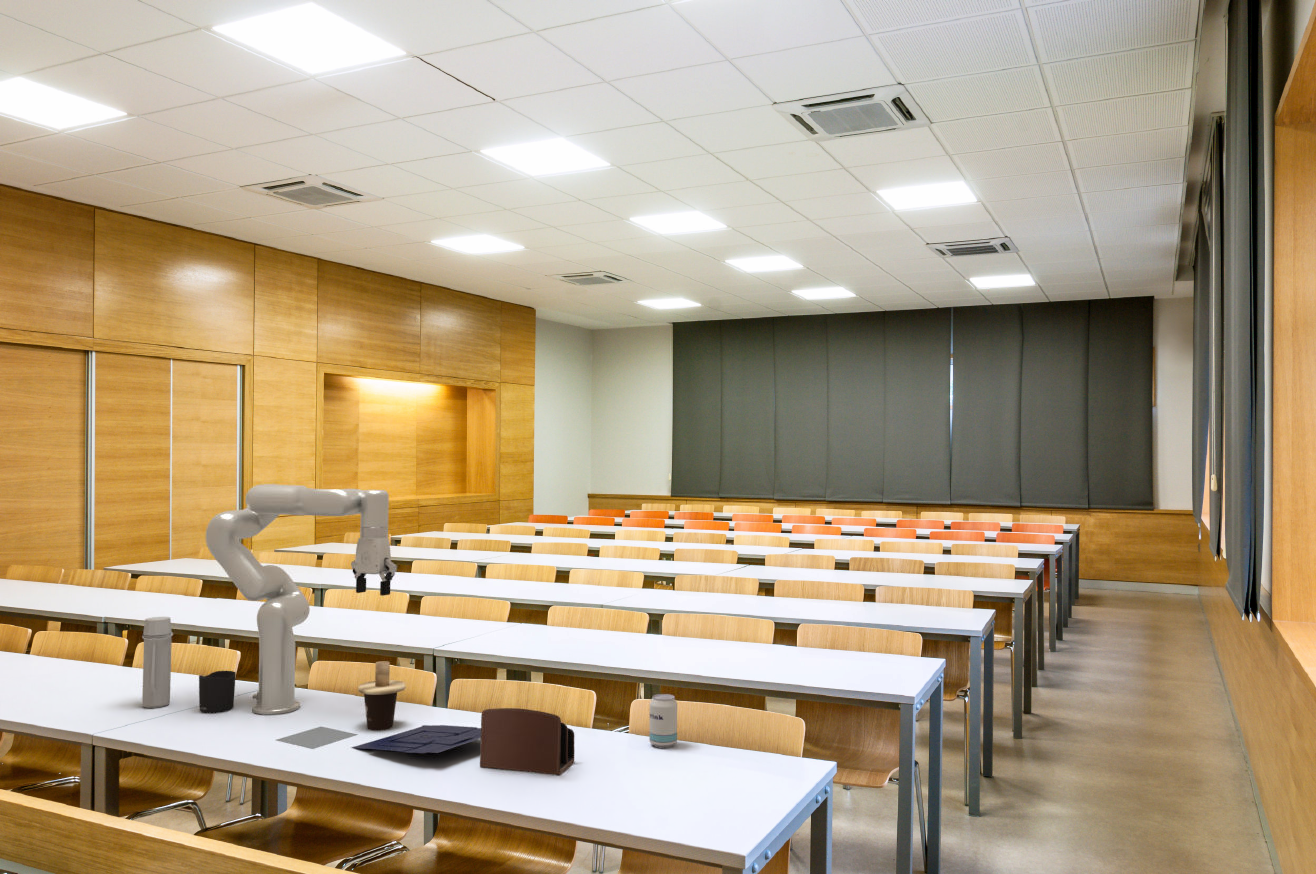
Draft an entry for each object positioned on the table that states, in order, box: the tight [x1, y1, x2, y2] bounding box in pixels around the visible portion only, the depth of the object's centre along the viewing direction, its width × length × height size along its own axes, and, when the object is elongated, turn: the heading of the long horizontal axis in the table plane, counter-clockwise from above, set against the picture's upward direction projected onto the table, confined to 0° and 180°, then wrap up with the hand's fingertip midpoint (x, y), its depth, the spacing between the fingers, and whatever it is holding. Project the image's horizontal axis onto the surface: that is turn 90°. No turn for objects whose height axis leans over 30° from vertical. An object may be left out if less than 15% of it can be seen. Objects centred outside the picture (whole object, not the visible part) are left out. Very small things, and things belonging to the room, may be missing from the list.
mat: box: [275, 726, 359, 750], centre depth 230 cm, size 14×14×1 cm
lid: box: [358, 660, 407, 695], centre depth 241 cm, size 12×12×7 cm
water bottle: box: [141, 616, 174, 709], centre depth 260 cm, size 9×8×25 cm
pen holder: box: [198, 670, 237, 714], centre depth 257 cm, size 9×9×10 cm
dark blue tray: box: [351, 724, 481, 754], centre depth 224 cm, size 24×30×4 cm
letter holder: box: [479, 707, 575, 776], centre depth 211 cm, size 10×20×14 cm, turn 75°
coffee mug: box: [363, 692, 398, 732], centre depth 241 cm, size 12×9×10 cm
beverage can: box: [648, 693, 678, 749], centre depth 227 cm, size 7×7×12 cm
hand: (372, 593), depth 257 cm, fingers open, 9 cm apart
